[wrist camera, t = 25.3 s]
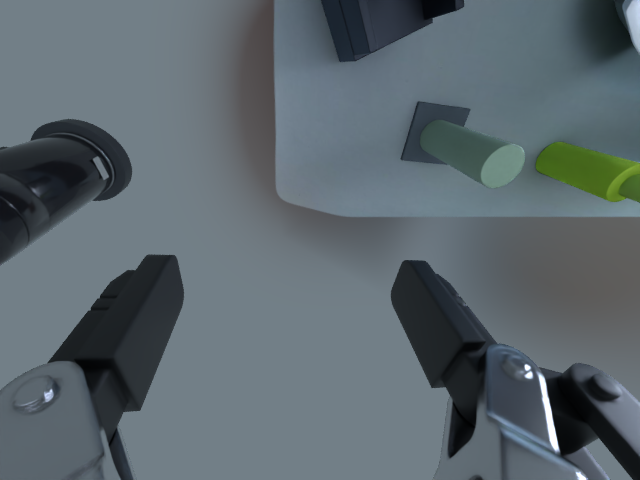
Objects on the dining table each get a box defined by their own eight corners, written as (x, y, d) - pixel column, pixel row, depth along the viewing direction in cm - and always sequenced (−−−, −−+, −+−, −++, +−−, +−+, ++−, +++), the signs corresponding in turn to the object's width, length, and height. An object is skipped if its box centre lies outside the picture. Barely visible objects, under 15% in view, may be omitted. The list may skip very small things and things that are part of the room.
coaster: (400, 159, 45) (401, 160, 45) (417, 101, 40) (419, 101, 40) (446, 163, 47) (448, 164, 46) (468, 108, 42) (470, 109, 42)
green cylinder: (415, 150, 44) (473, 187, 31) (426, 117, 41) (494, 141, 28) (442, 153, 45) (510, 190, 32) (455, 121, 42) (534, 146, 29)
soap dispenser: (524, 169, 50) (647, 220, 33) (557, 135, 47) (708, 173, 30) (541, 182, 52) (663, 237, 35) (573, 151, 49) (722, 195, 32)
